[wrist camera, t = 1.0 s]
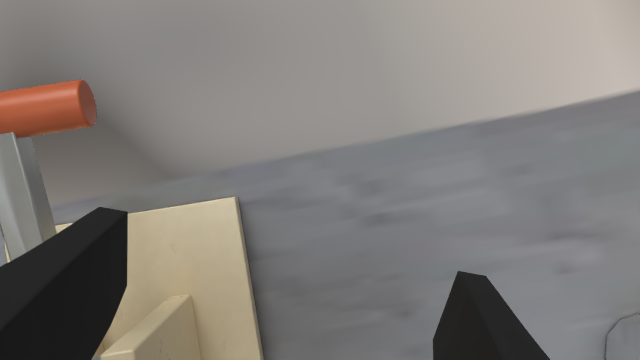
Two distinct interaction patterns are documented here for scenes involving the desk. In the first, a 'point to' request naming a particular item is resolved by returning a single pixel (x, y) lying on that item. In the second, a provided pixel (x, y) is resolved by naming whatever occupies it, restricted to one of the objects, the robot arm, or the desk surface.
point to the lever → (34, 156)
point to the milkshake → (624, 340)
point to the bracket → (185, 287)
